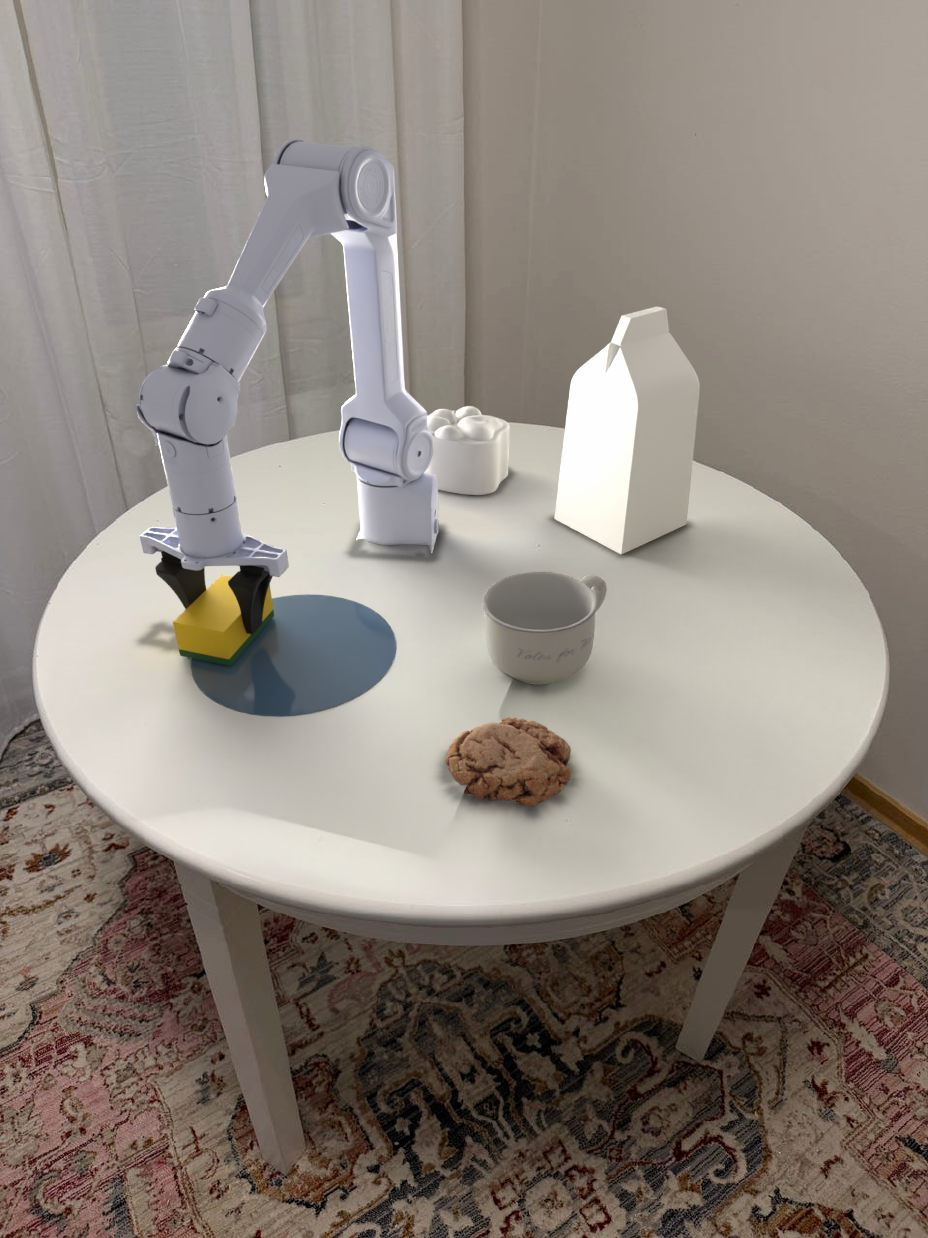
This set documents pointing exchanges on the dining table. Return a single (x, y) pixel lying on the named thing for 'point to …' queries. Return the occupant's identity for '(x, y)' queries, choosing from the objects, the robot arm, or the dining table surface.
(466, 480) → the lumpy-topped squat cylinder
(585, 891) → the dining table surface
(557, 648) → the teacup
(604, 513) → the milk
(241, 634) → the sponge
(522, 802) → the cookie
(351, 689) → the plate
